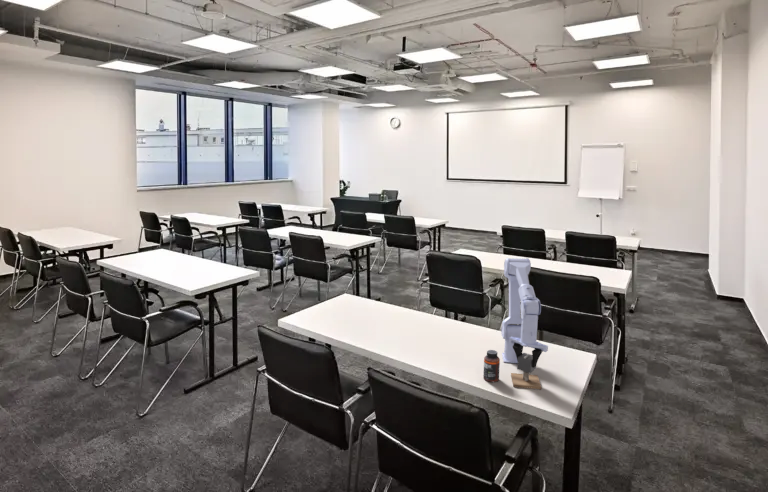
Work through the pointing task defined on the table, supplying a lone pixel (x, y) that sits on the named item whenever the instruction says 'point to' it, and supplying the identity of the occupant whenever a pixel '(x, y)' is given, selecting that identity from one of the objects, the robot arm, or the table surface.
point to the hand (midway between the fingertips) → (526, 364)
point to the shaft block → (525, 380)
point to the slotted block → (525, 362)
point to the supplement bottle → (491, 366)
